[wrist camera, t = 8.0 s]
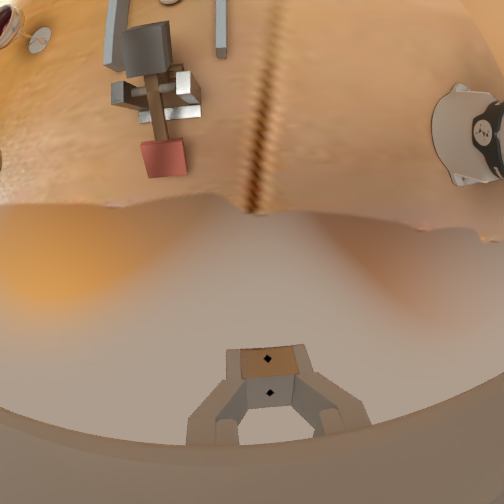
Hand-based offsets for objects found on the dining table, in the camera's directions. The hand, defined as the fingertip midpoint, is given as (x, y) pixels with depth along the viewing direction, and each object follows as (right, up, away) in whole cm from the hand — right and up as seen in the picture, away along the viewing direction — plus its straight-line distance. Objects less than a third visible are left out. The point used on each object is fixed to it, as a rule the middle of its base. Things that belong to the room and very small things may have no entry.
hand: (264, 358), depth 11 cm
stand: (-11, +24, +23) cm, 35 cm away
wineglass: (-35, +38, +15) cm, 54 cm away
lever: (-11, +26, +21) cm, 35 cm away
